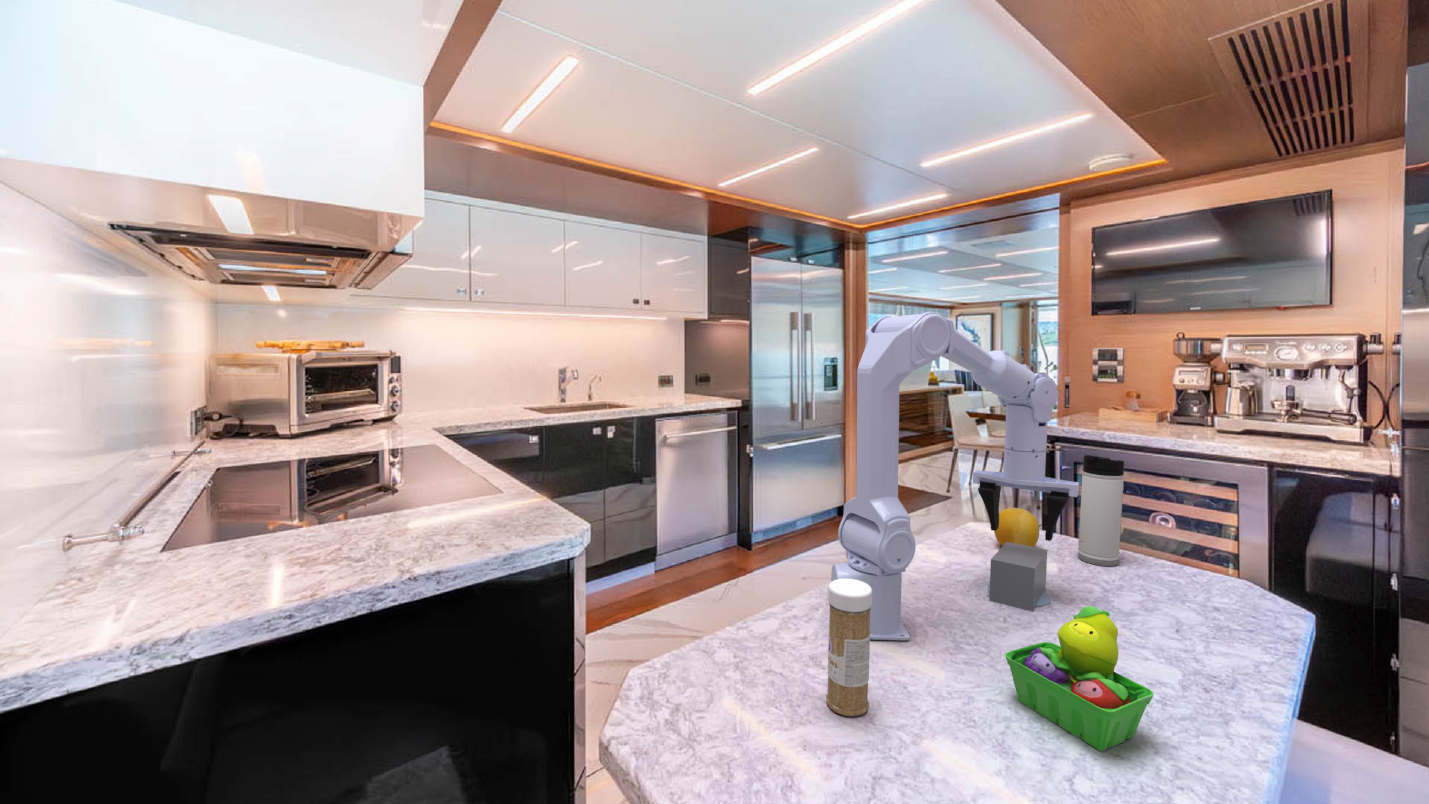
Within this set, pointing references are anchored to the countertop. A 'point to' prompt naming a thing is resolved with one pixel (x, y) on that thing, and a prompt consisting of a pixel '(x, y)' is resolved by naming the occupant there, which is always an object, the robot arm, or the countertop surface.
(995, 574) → the grey rectangular block
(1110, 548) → the travel mug
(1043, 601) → the disc
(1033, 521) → the fruit
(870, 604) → the spice jar
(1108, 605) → the countertop surface
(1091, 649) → the fruit basket
